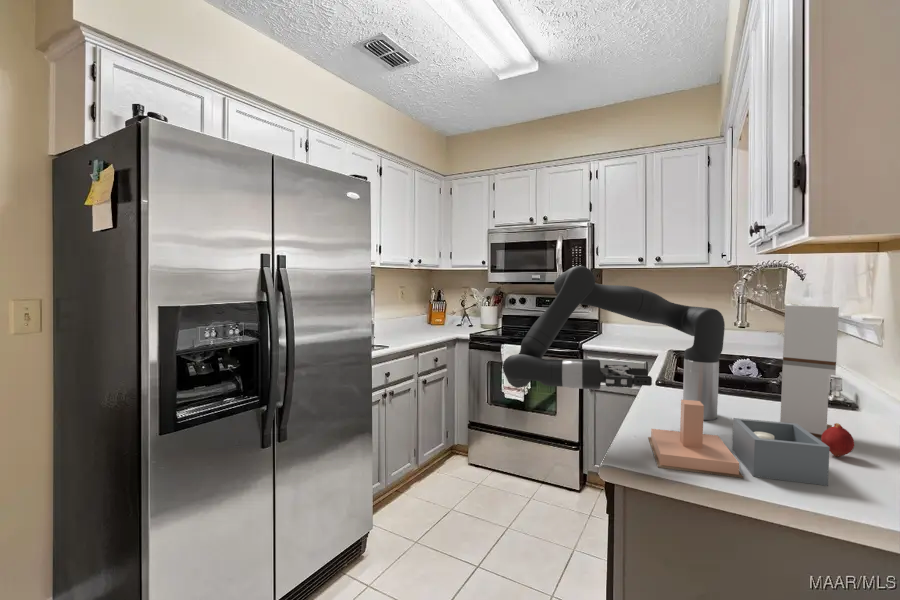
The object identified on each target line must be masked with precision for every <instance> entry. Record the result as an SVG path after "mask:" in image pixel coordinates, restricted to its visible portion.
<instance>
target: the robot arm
mask: <svg viewBox="0 0 900 600" xmlns="http://www.w3.org/2000/svg"><path fill="white" fill-rule="evenodd" d="M591 270H592V269H590V268H588V267H586V266H584V265H576V266H573V267H570V268H569V269H567V270H565V271H564V272H563V273H561V274H560V275H558V276H557V278H556V279H555V280H554V283H553V288H554V292H555V294H556V297H555V298H554V300H553V301H552V302H551V303H550V305H549V306H548V307H547V308H546V309H545V311H544V312H543V313H542V314H541V315H540V316H539V317H538V318H537V320H535V322H534V323H533V324H532V325H531V327H530V329H529V330H528V332H527V333H526V334H525V336H524V337H523V339H522V340H521V343H520V350H519V352H518V354H511V355H509V356H508V357H507V358H505V360H504V361H503V363H502V371H503V374H504V375H505V378H506V381H507V382H508V383H509V385H511V386H512V387H514V388H518V389H519V388H524V387H526V386H528V385H529V384H530V382H531V381H535V382H540V384H542V386H543V385H544V386H547V387H548V386H549V387H559V388H560V387H562V388H563V387H564V388H569V389H581V390H585V389H586V390H600V389H601V384H602V383H605V386H606V387H612V388H613V387H614V388H628V389H632V388H633V387H634V386H648V387H650V386H652V385H653V378H652V376H650V375H648V369H647V368H646V367H645V368H643V367H631V366H628V365H627V364H623V365H621V364H604V365H603V367H601V361H600V360H599V359H586V358H585V359H584V358H583V359H580V358H569V359H559V358H557V359H553V358H552V359H550V358H549V359H548V358H543V357H544V355H545V354H546V353H547V351H548V350H549V349H550V348H551V345H552V344H553V342H554V340H555V339H556V338H557V336H558V334H559V332H560V331H561V329H562V328H563V327H564V325H565V323H567V321H568V319H569V318H570V316H572V314H573V313H574V312H575V310H576V309H577V308H578V307H579V306H580V305H584V306H590V307H595V308H598V309H602V310H604V311H607V312H611V313H614V314H617V315H620V316H624V317H626V318H630V319H634V320H637V321H640V322H644V323H651V324H659V325H663V326H665V327H670V328H672V329H674V330H677V331H679V332H682V333H684V334H687V335H689V336H692V337H693V344H692V346H691V347H689V348H686V349H685V350H684V355H683V356H684V357H683V384H682V385H683V387H682V389H683V391H682V393H683V394H682V400H693V401H700V402H701V403H702V404H703V405H704V416H703V421H712V420H716V419H717V418H718V404H719V403H718V402H719V401H718V400H719V378H720V377H719V375H720V374H719V373H720V368H719V367H720V356H721V354H722V352H723V350H724V349H723V348H724V338H725V330H726V329H725V327H726V326H725V319H724V315H723V314H722V312H720V310H718V309H715V308H711V307H702V306H701V307H700V306H689V305H686V304H685V305H684V304H679V303H674V302H672V301H669V300H667V299H666V298H664V297H662V296H661V295H659V294H658V293H656V292H652V291H649V290H646V289H642V288H639V287H636V286H629V285H621V284H620V285H619V284H618V285H616V284H615V285H614V284H613V285H612V284H600V283H596V277H595V275H594V273H593V271H591ZM549 347H550V348H549Z"/></svg>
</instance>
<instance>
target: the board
mask: <svg viewBox="0 0 900 600" xmlns="http://www.w3.org/2000/svg"><path fill="white" fill-rule="evenodd" d="M647 439H648V442H649V446H650V449H651V451H652V453H654V454H653V457H654V459H655V462H656V466H657V468H659V469H660V468H662V469H666V470H667V469H668V470H676V471H682V472H691V473H692V472H693V473H697V474H698V473H700V474H707V475H708V474H709V475H715V476H721V477H731V478H739V479H744V475H743V473H741V471H740V470H739V475H736V474H728V473H720V472H712V471H704V470H697V469H689V468H681V467H673V466H665V465H660V462H659V460H658V457H657V454H656V451H655V448H654V445H653V442H652V439H651V436H648V437H647Z"/></svg>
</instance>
